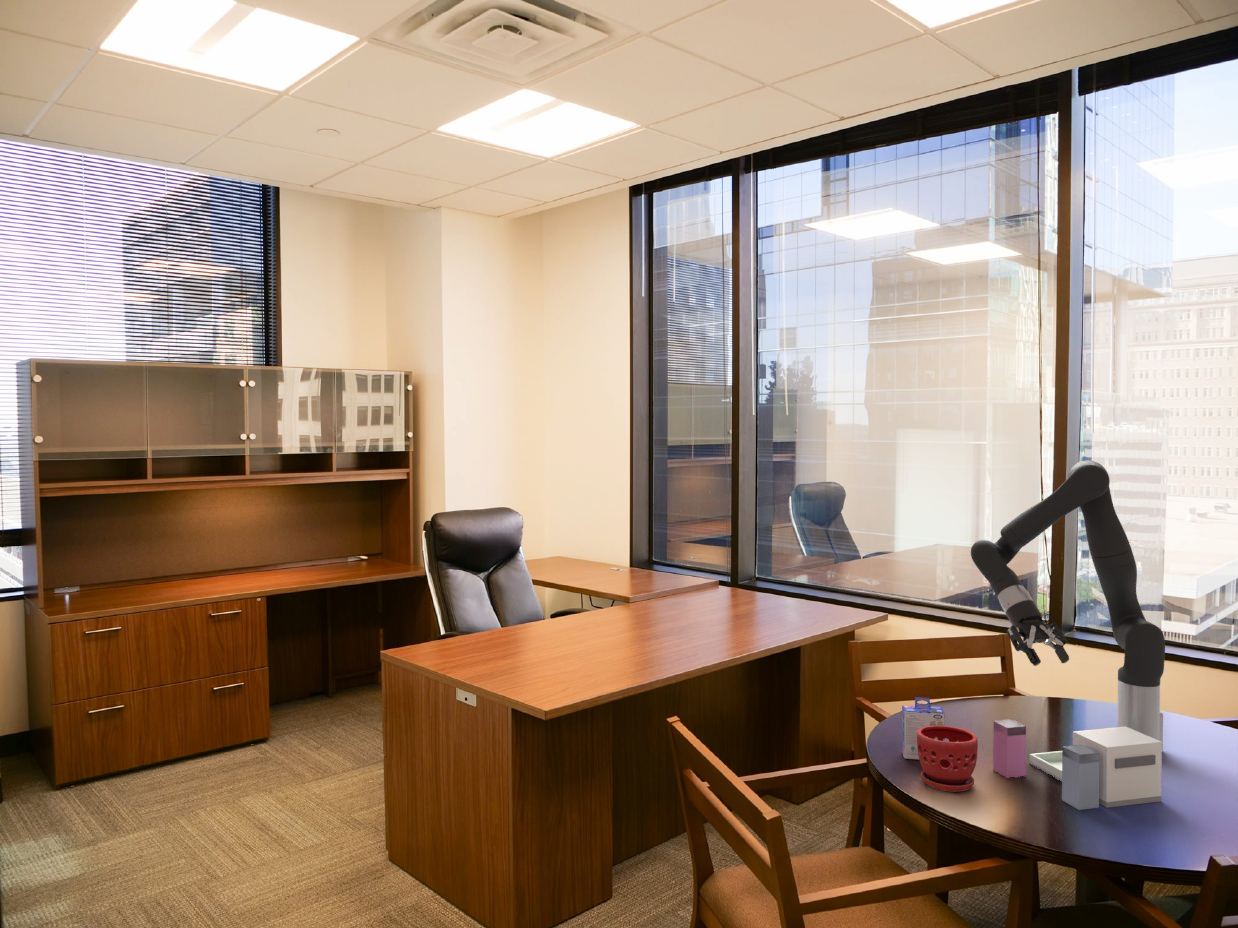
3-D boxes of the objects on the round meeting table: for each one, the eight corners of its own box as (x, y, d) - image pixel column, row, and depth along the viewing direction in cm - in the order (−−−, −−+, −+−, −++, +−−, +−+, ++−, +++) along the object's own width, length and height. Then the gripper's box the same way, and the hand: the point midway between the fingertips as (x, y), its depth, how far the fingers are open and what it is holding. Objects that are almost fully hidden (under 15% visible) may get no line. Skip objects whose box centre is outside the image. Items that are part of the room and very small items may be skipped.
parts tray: (1069, 759, 207) (1069, 749, 207) (1104, 777, 196) (1104, 767, 196) (1029, 763, 205) (1029, 753, 205) (1063, 782, 194) (1063, 771, 194)
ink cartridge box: (942, 753, 212) (942, 697, 212) (946, 762, 207) (946, 704, 206) (901, 751, 214) (901, 695, 214) (904, 759, 209) (904, 701, 208)
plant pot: (990, 789, 190) (990, 737, 190) (945, 800, 185) (946, 746, 185) (947, 768, 202) (947, 719, 202) (904, 777, 197) (904, 727, 197)
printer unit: (1121, 781, 194) (1122, 725, 194) (1162, 801, 183) (1163, 742, 183) (1069, 787, 191) (1070, 729, 191) (1108, 808, 180) (1108, 747, 180)
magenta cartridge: (1011, 767, 203) (1011, 719, 202) (1025, 776, 198) (1026, 726, 197) (993, 769, 202) (993, 720, 201) (1007, 778, 197) (1007, 727, 196)
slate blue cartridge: (1081, 797, 186) (1081, 744, 185) (1098, 807, 181) (1099, 752, 180) (1062, 799, 185) (1062, 746, 184) (1078, 809, 180) (1079, 754, 179)
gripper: (1003, 600, 212) (1036, 657, 201) (1049, 597, 216) (1084, 653, 205) (988, 616, 217) (1019, 672, 207) (1033, 613, 221) (1066, 668, 211)
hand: (1052, 662), depth 206 cm, fingers open, 8 cm apart
